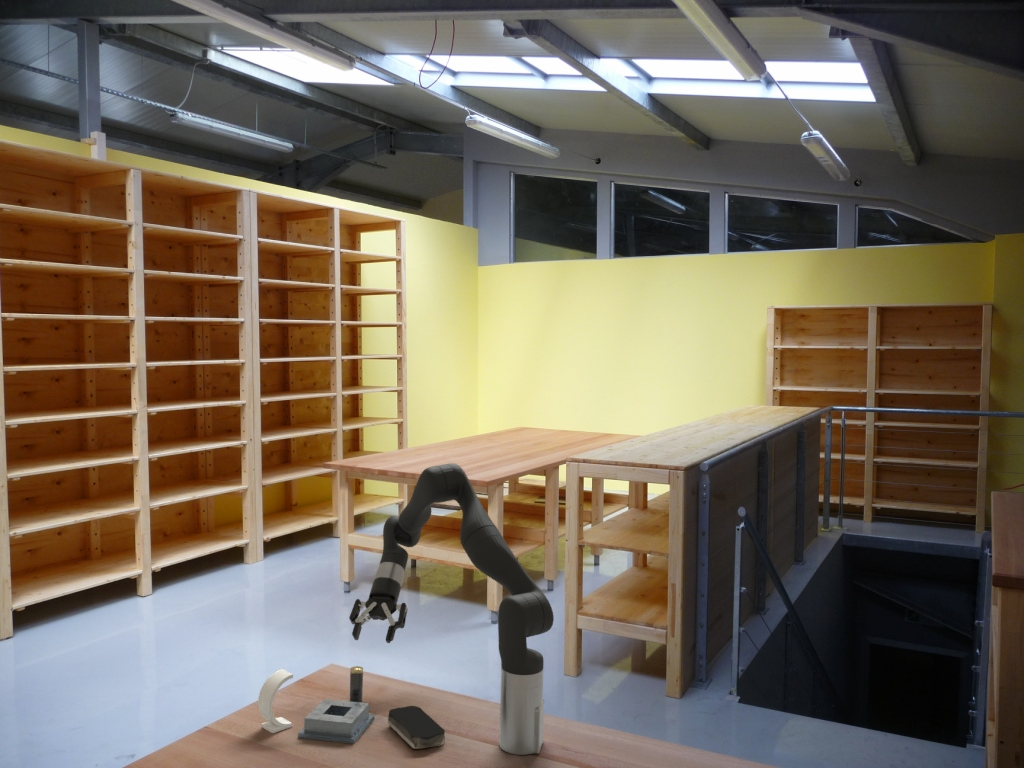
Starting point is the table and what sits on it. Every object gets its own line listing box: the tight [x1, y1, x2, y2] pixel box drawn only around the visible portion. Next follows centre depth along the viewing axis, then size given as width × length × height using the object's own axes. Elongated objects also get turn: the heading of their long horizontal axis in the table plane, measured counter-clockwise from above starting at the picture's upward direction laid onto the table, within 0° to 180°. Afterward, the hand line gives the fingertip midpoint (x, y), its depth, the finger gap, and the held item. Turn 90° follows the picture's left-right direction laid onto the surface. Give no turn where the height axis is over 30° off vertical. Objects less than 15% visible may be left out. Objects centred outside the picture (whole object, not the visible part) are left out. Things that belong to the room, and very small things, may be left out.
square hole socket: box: [297, 698, 376, 745], centre depth 186 cm, size 13×13×4 cm
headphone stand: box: [257, 668, 294, 734], centre depth 186 cm, size 5×6×12 cm
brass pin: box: [349, 665, 364, 703], centre depth 198 cm, size 3×3×10 cm
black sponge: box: [387, 705, 446, 750], centre depth 184 cm, size 16×8×4 cm, turn 31°
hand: (371, 640), depth 207 cm, fingers open, 8 cm apart
